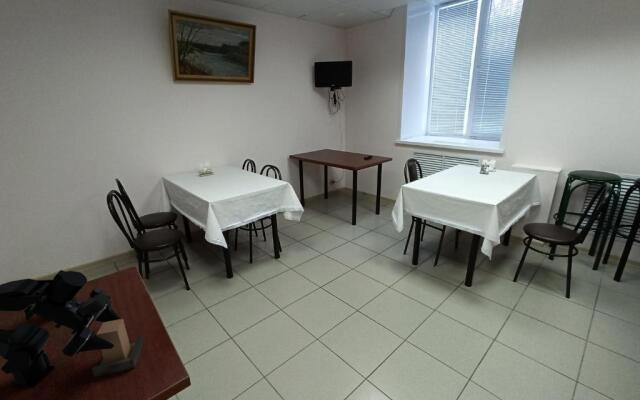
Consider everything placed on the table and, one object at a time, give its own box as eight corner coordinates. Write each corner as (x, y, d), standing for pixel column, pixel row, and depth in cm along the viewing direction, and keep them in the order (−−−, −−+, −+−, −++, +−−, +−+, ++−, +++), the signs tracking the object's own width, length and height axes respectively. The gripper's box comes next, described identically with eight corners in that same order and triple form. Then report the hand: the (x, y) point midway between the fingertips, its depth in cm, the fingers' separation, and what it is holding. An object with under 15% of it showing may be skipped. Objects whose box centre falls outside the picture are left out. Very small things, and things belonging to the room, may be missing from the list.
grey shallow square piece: (94, 377, 82) (91, 369, 81) (107, 349, 91) (105, 342, 90) (135, 367, 84) (133, 359, 83) (143, 342, 93) (141, 334, 92)
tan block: (106, 365, 85) (96, 334, 81) (112, 352, 89) (103, 322, 86) (126, 361, 86) (117, 330, 83) (130, 348, 91) (122, 318, 87)
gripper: (64, 311, 70) (127, 337, 77) (95, 271, 87) (144, 295, 94) (34, 345, 71) (99, 369, 77) (71, 298, 88) (121, 321, 94)
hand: (118, 335), depth 86 cm, fingers open, 9 cm apart
